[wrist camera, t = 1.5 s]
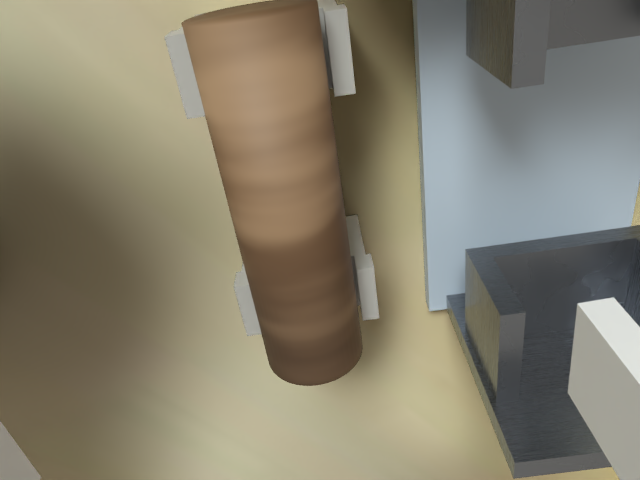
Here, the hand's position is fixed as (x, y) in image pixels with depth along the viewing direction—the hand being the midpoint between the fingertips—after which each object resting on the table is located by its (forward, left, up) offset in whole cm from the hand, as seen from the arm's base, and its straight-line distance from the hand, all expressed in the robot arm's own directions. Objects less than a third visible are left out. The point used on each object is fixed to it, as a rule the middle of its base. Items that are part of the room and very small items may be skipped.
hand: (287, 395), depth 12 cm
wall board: (+12, -1, -17) cm, 20 cm away
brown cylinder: (0, -1, -13) cm, 13 cm away
